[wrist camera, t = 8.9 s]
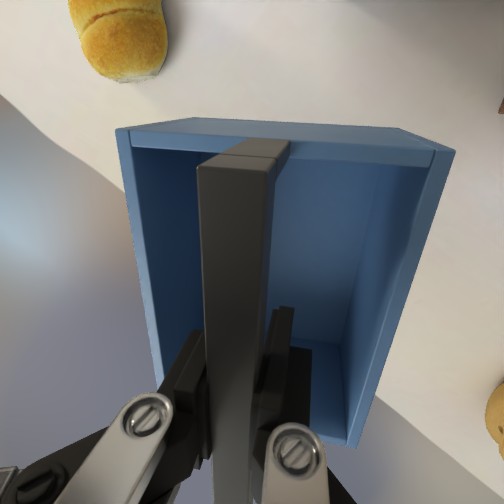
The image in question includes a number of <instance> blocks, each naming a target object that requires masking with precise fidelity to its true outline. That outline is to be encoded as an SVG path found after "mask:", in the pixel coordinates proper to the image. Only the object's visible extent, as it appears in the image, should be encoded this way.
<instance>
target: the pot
mask: <svg viewBox="0 0 504 504" xmlns="http://www.w3.org/2000/svg"><path fill="white" fill-rule="evenodd" d="M485 421H486V428H487V430H488V432H489V433H490V435H491V437H492V438H493V439H494V440H495V441H496V442H497V443H498V444H499V453H500V454H501V456H502V458H503V460H504V383H503V384H501V385H500V386H499V387H497V388H496V389H495V390H494V391H493V393H492V394H491V396H490V398H489V400H488V403H487V407H486V412H485Z"/></svg>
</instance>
